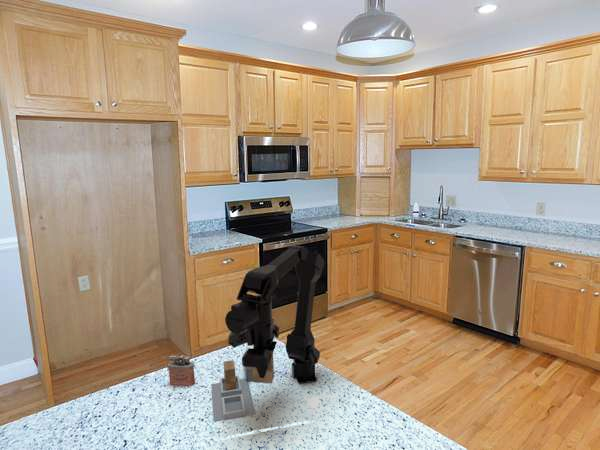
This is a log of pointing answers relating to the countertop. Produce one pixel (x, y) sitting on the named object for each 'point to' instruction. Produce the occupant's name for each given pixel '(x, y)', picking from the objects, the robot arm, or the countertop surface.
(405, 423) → the countertop surface
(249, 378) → the button box
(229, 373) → the billet
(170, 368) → the lighter
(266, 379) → the billet
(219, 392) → the grey socket board
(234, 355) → the countertop surface
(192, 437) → the countertop surface
